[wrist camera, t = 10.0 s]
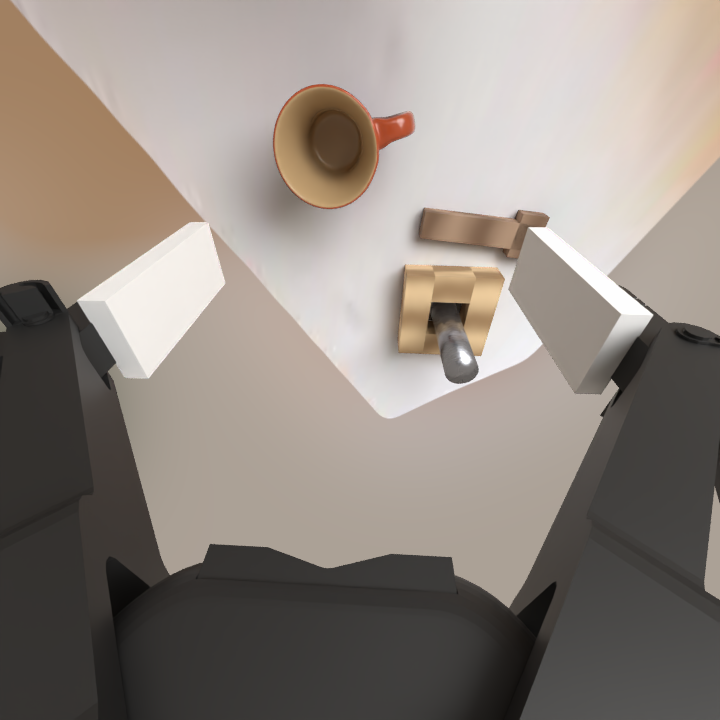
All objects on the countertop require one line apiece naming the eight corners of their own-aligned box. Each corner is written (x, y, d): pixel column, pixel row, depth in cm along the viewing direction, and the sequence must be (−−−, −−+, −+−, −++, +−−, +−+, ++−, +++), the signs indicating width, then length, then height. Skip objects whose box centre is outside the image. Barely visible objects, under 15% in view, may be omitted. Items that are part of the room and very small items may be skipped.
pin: (432, 296, 46) (449, 357, 35) (458, 298, 46) (482, 360, 35) (428, 318, 48) (441, 382, 37) (452, 319, 48) (473, 384, 37)
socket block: (405, 264, 43) (407, 275, 41) (497, 267, 43) (504, 279, 40) (397, 339, 51) (398, 352, 48) (475, 342, 50) (481, 356, 48)
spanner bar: (417, 240, 42) (418, 246, 40) (426, 198, 38) (428, 202, 37) (525, 253, 42) (530, 259, 40) (542, 212, 39) (549, 217, 37)
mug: (314, 195, 39) (296, 220, 31) (284, 104, 33) (254, 106, 25) (415, 164, 36) (425, 183, 28) (400, 62, 31) (407, 49, 23)
